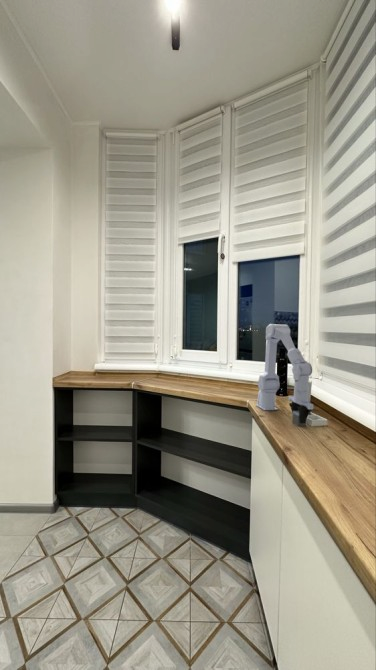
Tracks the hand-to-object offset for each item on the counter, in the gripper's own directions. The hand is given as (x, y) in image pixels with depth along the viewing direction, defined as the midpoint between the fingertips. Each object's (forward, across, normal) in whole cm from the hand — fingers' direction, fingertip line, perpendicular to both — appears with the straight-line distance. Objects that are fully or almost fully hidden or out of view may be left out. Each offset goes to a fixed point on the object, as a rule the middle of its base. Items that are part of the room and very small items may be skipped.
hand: (299, 421), depth 131 cm
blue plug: (+1, 0, 0) cm, 1 cm away
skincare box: (+2, +23, -18) cm, 29 cm away
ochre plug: (0, +7, -8) cm, 11 cm away
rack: (+1, +4, -8) cm, 9 cm away
